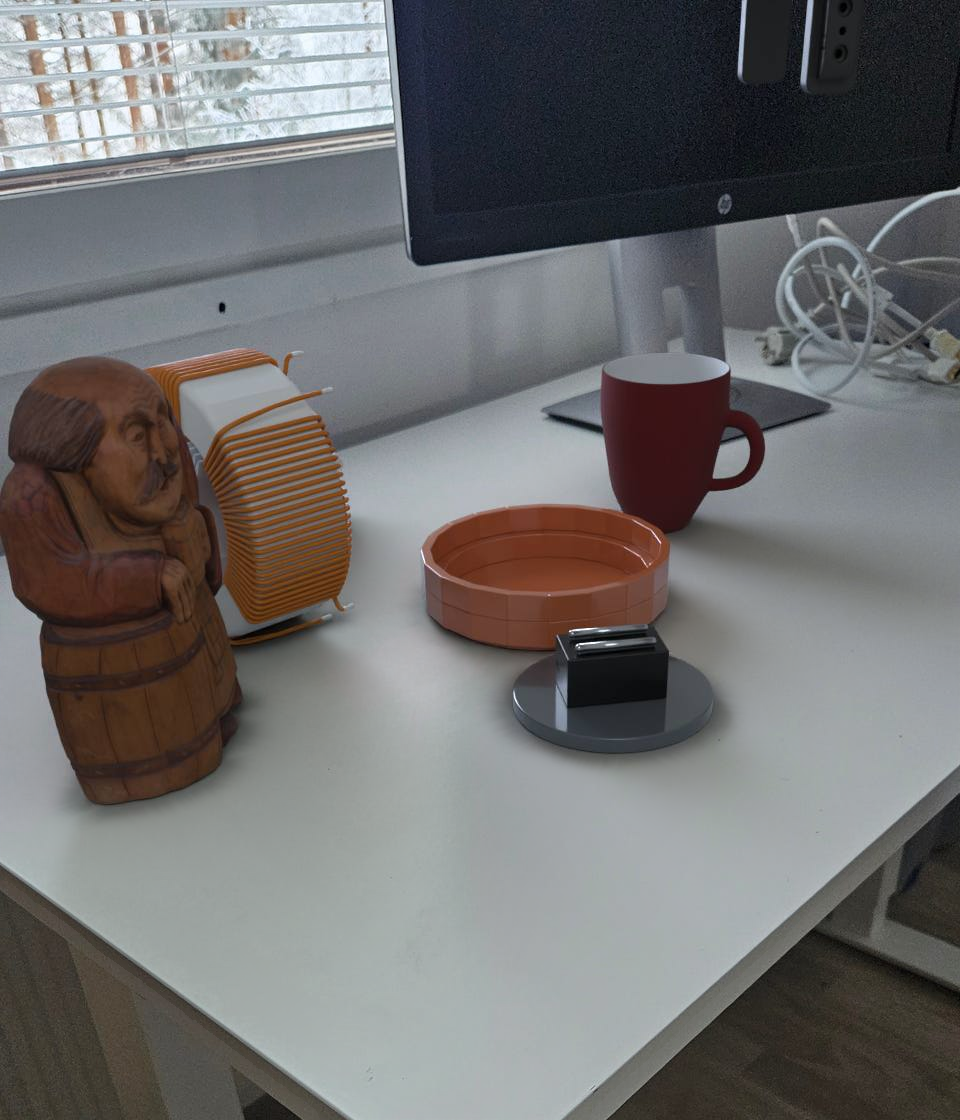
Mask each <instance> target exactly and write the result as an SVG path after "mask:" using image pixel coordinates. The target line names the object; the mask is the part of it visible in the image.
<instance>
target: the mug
mask: <svg viewBox="0 0 960 1120" xmlns="http://www.w3.org/2000/svg"><path fill="white" fill-rule="evenodd" d="M731 373H732V369H731V366H730V364H728V363H727V362H726V361H724V360H722V359H719V358H716V357H713V356H709V355H705V354H704V355H703V354H696V353H688V352H647V353H638V354H637V353H636V354H631V355H625V356H621V357H617V358H615V359H612V360H610V361H607V362H606V363H605V364H603V366H602V368H601V381H600V418H601V425H602V433H603V439H604V448H605V454H606V461H607V468H608V475H609V481H610V485H611V490H612V492H613V494H614V497H615V499H616V502H617V504H618V505H619V507H620V509H621V512H622V513H625V514H629V515H632V516H635V517H639V518H641V519H643V520H645V521H646V522H648V523H650V524H652V525H654V526H655V527H657V528H659V529H660V530H661V531H662V532H663V533H664V534H665V533H672V532H677V531H680V530H682V529H684V528H685V527H687V526H688V524H689V523H690V521H691V520H692V518H693V517H694V515H695V514H696V512H697V510H698V509H699V507H700V505H701V504H702V503H703V501H704V499H705V498H706V496H707V495H708V494H709V492H723V491H729V490H734V489H737V488H740V487H743V486H745V485H746V484H748V483H749V482H751V481H752V480H753V479H754V478H755V477H756V475H757V474H758V472H759V471H760V469H761V467H762V465H763V463H764V459H765V455H766V441H765V436H764V433H763V430H762V428H761V426H760V424H759V423H758V422H757V420H756V419H755V418H754V417H753V416H752V415H751V414H749V413H747V412H745V411H743V410H738V409H731V406H730V404H731V403H730V397H731V395H730V394H731V377H732V376H731V375H732V374H731ZM728 428H731V429H737V430H739V431H740V432H742V434H744V436H745V437H746V440H747V442H748V446H749V457H748V460H747V463H746V465H745V467H744V468H743V469H742V470H741V471H740V472H739V473H737V474H736V475H733V476H729V477H722V478H721V477H719V478H714V471H715V467H716V464H717V459H718V455H719V451H720V448H721V443H722V440H723V437H724V433H725V430H726V429H728Z"/></svg>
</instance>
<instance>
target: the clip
mask: <svg viewBox="0 0 960 1120" xmlns="http://www.w3.org/2000/svg"><path fill="white" fill-rule="evenodd" d="M555 655H556V682H557V684H558V686H559V689H560V691H561V693H562V696H563V698H564V700H565V703H566V705H567V707H568V708H573V707H583V706H593V705H603V704H614V703H624V702H634V701H644V700H654V699H664V698H666V697H667V682H668V665H669V655H670V650H669V648H668V647H667V645H666V643H665V642H664V641H663V639H662V637H661V636H660V634H659V633H658V630H657V629H656V627H655V626H654V625H648V624H645V623H643V624H632V625H621V626H610V627H599V628H589V629H578V630H571V631H569V633H568V634H560V635H556V650H555Z"/></svg>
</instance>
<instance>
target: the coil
mask: <svg viewBox="0 0 960 1120" xmlns="http://www.w3.org/2000/svg"><path fill="white" fill-rule="evenodd" d="M304 355H305V352H304V351H303V350H297V351H293V352H289V353H287V354H286V356H285V357H284V360H283V366H282V367H283V368H282V370H281V368H279V364H278V361H277V360H276V359H275V358H273V357H272V356H271V355H269V354H266V353H264V352H262V351H260V350H256V349H252V348H242V347H241V348H234V349H229V350H225V351H220V352H215V353H210V354H204V355H200V356H195V357H190V358H186V359H182V360H175V361H172V362H167V363H162V364H157V365H153V366H149V367H147V368H144V369H143V370H144V371H146V372H147V373H149V374H150V375H151V376H153V377H154V378H155V380H156V381H157V382H158V384H159V385H160V386H161V388H162V389H163V391H164V393H165V395H166V397H167V399H168V401H169V403H170V405H171V407H172V409H173V415H174V416H175V418H176V420H177V421H178V423H179V425H180V427H181V429H182V431H183V434H184V436H185V439H186V441H187V444H188V447H189V450H190V453H191V456H192V459H193V463H194V467H195V471H196V475H197V479H198V488H199V503H200V504H201V505H204V506H206V507H207V508H209V509H210V510H211V512H212V513H213V516H214V520H215V525H216V530H217V537H218V543H219V549H220V557H221V565H222V584H221V587H220V589H219V591H218V593H217V595H216V596H215V597H214V598H215V600H216V602H217V604H218V607H219V609H220V612H221V615H222V618H223V620H224V623H225V627H226V631H227V635H228V639H229V643H230V646H242V645H244V646H245V645H251V644H254V643H259V642H263V641H266V640H271V639H273V638H278V637H282V636H284V635H287V634H290V633H293V632H296V631H300V630H302V629H305V628H308V627H311V626H314V625H317V624H319V623H321V622H325V621H327V620H330V619H333V614H332V613H329V614H326V615H323V616H320V617H317V618H315V619H312V620H308V621H306V622H303V623H300V624H297V625H293V626H291V627H288V628H286V629H282V630H280V631H279V630H278V631H276V632H272V633H267V634H263V635H258V636H253V637H248V638H247V637H246V638H242V639H237V640H234V639H236V638H240V637H242V636H245V635H248V634H251V633H254V632H256V631H259V630H262V629H265V628H269V627H270V626H274V625H277V624H279V623H283V622H285V621H288V620H291V619H294V618H297V617H299V616H302V615H304V614H306V613H309V612H312V611H314V610H318V609H320V608H321V607H322V606H323V605H325V604H326V603H327V602H328V601H329V600H332V601H333V603H334V606H335V607H336V609H337V610H338V611H339V612H347V611H349V610H352V609H354V608H355V607H356V606H355V604H354V603H350V604H347V605H344V606H341V603H340V600H339V599H338V596H339V595H340V594H341V591H342V590H343V588H344V586H345V582H346V580H347V576H348V574H349V569H350V562H351V558H352V557H351V556H352V550H351V549H352V548H353V544H352V541H353V536H352V533H353V530H352V528H351V527H352V523H353V522H352V521H351V518H352V514H351V512H349V511H350V509H351V506H350V505H349V504H348V502H349V501H350V500H349V499H350V498H349V496H347V494H348V489H347V488H346V487H344V486H345V485H346V480H345V479H341V478H343V477H344V472H343V471H342V472H337V469H339V468H341V464H339V463H338V464H335V463H334V461H336V460H338V456H339V455H338V454H337V455H338V456H337V455H333V456H332V453H335V452H336V449H337V448H336V447H335V446H331V445H332V444H333V443H334V441H333V439H332V438H328V437H330V432H329V430H327V429H326V426H327V425H326V424H325V422H323V417H322V415H320V414H316V415H314V413H313V411H314V410H313V409H312V408H311V406H310V405H309V403H308V402H307V399H311V398H315V397H319V396H323V395H327V394H331V393H334V392H335V391H334V389H335V388H334V387H333V386H330V387H326V388H322V389H318V390H315V391H310V392H307V393H303V394H302V393H301V391H300V390H299V388H298V387H297V385H296V384H295V383H294V382H292V380H291V378H289V377H288V372H289V365H290V361H291V359H293V358H298V357H302V356H304Z"/></svg>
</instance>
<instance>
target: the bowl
mask: <svg viewBox="0 0 960 1120" xmlns="http://www.w3.org/2000/svg"><path fill="white" fill-rule="evenodd" d="M671 548H672V544H671V541H670V540H669V539H668V537H667V536H666V535H665V533H663V532H662V531H661V530H660V529H659V528H657V527H655V526H654V525H652V524H650V523H648V522H646V521H645V520H643V519H641V518H639V517H635V516H632V515H629V514H625V513H623V511H618V510H614V509H610V508H605V507H597V506H590V505H583V504H568V503H533V504H521V505H509V506H502V507H498V508H497V507H496V508H493V509H487V510H482V511H478V512H473V513H471V514H468V515H465V516H462V517H459V518H456V519H454V520H451V521H449V522H446V523H445V524H443V525H442V526H440V527H438V528H437V529H436V530H434V531H433V532H431V533H430V534H428V535H427V537H426V539H425V540H424V542H423V544H422V546H421V548H420V569H421V583H422V584H421V585H422V597H423V602H424V605H425V609H426V612H427V614H428V615H429V617H431V618H432V619H434V620H435V621H436V622H437V623H438V624H439V625H440V626H441V627H443V628H444V629H446V630H449V631H451V632H455V633H456V634H458V635H460V636H462V637H464V638H466V639H469V640H472V641H475V642H478V643H482V644H485V645H489V646H493V647H498V648H504V649H511V650H522V651H526V650H527V651H556V635H560V634H568V633H569V631H571V630H578V629H589V628H599V627H610V626H621V625H632V624H643V623H645V624H647V625H648V624H649V625H650V624H651V622H653V621H655V620H656V618H657V617H658V616H659V615H660V614H661V613H662V612H663V611H664V610H665V609H666V607H667V603H668V595H669V584H670V567H671V565H670V564H671V550H672V549H671Z"/></svg>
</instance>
